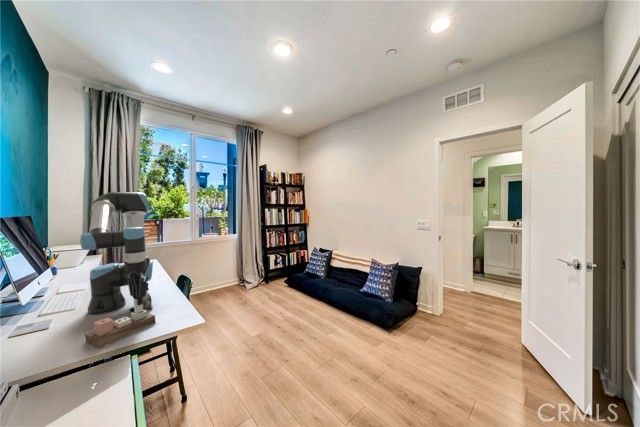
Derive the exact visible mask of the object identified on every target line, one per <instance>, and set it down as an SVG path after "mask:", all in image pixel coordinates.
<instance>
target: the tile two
mask: <svg viewBox="0 0 640 427" xmlns="http://www.w3.org/2000/svg"><path fill="white" fill-rule="evenodd" d="M128 317H129V316H124V317H121V318H119V319H116V320H113V323H114V326H115V327H117V328H121V327H123V326H125V325H128V324H130V323H131V318H128Z"/></svg>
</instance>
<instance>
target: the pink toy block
mask: <svg viewBox="0 0 640 427" xmlns="http://www.w3.org/2000/svg"><path fill="white" fill-rule="evenodd" d="M113 323H114V320H113V319H112V318H109V317H105V318H102V319H100V320H97V321H95V322H93V329H94V330H93V331H94V334H95V335H97V336H99V337H100V336H102V335H104V334H107V333H109V332H111V331H113Z"/></svg>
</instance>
